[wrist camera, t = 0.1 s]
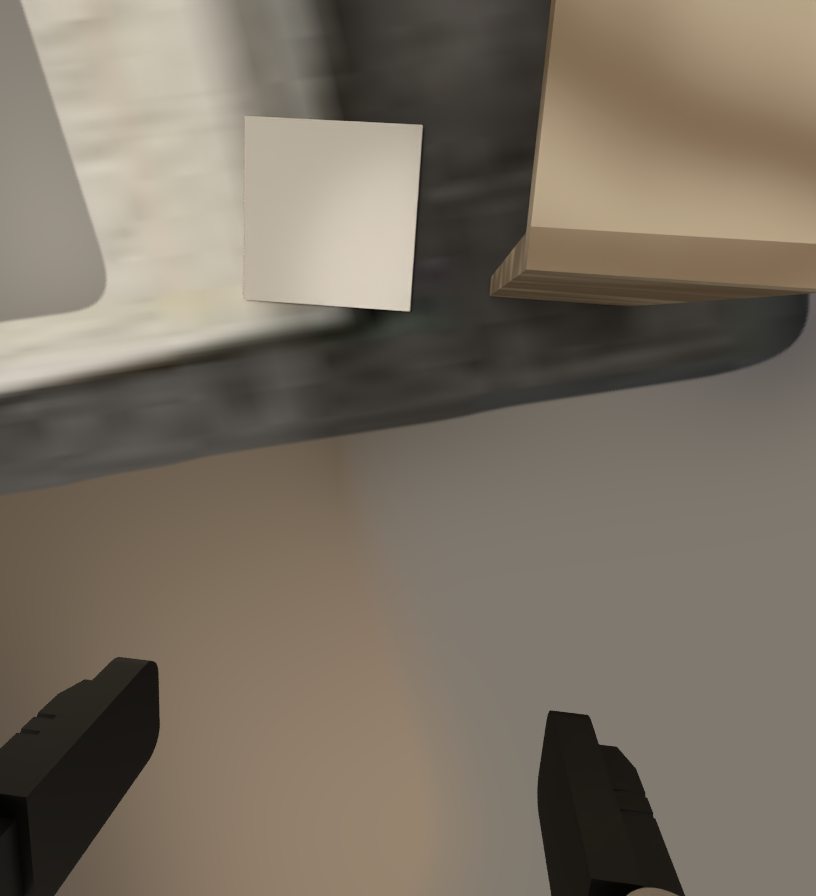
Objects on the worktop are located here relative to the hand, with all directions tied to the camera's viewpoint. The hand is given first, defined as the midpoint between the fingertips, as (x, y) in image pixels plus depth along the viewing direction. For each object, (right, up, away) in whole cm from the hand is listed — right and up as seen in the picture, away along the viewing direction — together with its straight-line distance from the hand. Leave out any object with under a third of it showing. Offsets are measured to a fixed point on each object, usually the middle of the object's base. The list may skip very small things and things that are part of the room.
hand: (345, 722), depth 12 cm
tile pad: (-4, +20, +26) cm, 33 cm away
